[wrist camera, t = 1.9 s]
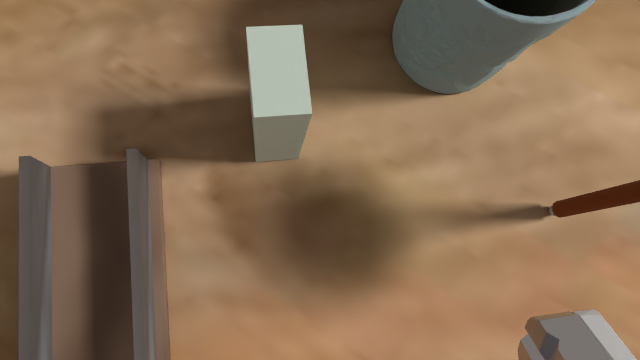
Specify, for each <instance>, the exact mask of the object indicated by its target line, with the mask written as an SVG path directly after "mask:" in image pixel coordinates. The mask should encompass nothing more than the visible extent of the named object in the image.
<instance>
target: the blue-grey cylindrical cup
mask: <svg viewBox="0 0 640 360" xmlns="http://www.w3.org/2000/svg"><path fill="white" fill-rule="evenodd" d="M595 1H596V0H403V2H402V4H401V7H400V9H399V11H398V14H397V16H396V19H395V22H394V26H393V32H392V43H393V49H394V54H395V56H396V59H397V61H398V63H399V65H400V66H401V68H402V69H403V70H404V72H405V73H406V74H407V75H408V76H409V77H410V78H411V79H412V80H413V81H414V82H415V83H417V84H419V85H420V86H422V87H424V88H426V89H428V90H431V91H434V92H438V93H444V94H454V93H462V92H465V91H469V90H471V89H473V88H475V87H477V86H479V85H480V84H482V83H483V82H485V81H486V80H488V79H489V78H490V77H492V76H493V75H494V74H496V73H497V72H498V71H499V70H501V69H502V68H503V67H504V66H505V65H506V63H508V62H511V61H513V60H515V59H516V58H517V57H518V55H519V54H520V53H522V52H523V51H524V50H525V49H527V48H528V47H529V46H530V45H532V44H534V43H536V42H538V41H539V40H541V39H543V38H545V37H547V36H549V35H550V34H552V33H553V32H555V31H556V30H557V29H559V28H560V27H562V26H563V25H565V24H566V23H568V22H569V21H571V20H572V19H573V18H575V17H576V16H578V15H579V14H581V13H582V12H583V11H585V10H586V9H587V8H588V7H589V6H590V5H592V4H593V3H594V2H595Z"/></svg>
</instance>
